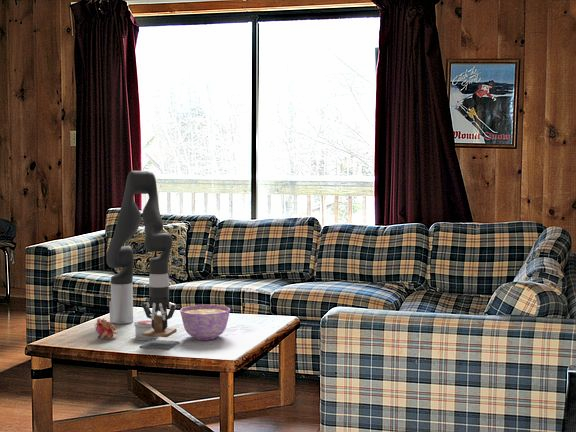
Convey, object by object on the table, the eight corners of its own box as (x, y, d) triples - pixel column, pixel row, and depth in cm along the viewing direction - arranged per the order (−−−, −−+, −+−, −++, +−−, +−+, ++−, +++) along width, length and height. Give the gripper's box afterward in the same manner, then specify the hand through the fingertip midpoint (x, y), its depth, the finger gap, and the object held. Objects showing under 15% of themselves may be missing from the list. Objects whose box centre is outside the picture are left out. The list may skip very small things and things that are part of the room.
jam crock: (130, 339, 332) (130, 324, 332) (140, 334, 342) (140, 319, 341) (153, 340, 330) (153, 325, 330) (162, 335, 340) (162, 320, 339)
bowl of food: (174, 334, 341) (174, 306, 340) (221, 330, 349) (220, 303, 348) (188, 345, 322) (188, 315, 321) (237, 340, 330) (237, 311, 329)
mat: (139, 347, 319) (139, 346, 319) (150, 341, 330) (150, 339, 330) (169, 349, 316) (169, 347, 316) (179, 342, 327) (179, 341, 327)
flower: (92, 338, 328) (104, 321, 328) (86, 328, 335) (98, 312, 336) (111, 348, 333) (123, 332, 333) (105, 339, 340) (117, 323, 341)
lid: (142, 336, 319) (142, 317, 318) (152, 330, 329) (152, 312, 328) (167, 337, 317) (166, 318, 316) (176, 331, 326) (176, 313, 326)
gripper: (137, 285, 319) (138, 330, 320) (172, 287, 316) (173, 332, 317) (145, 282, 326) (146, 326, 328) (179, 284, 323) (180, 328, 324)
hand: (159, 329), depth 322 cm, fingers closed on lid, 3 cm apart
